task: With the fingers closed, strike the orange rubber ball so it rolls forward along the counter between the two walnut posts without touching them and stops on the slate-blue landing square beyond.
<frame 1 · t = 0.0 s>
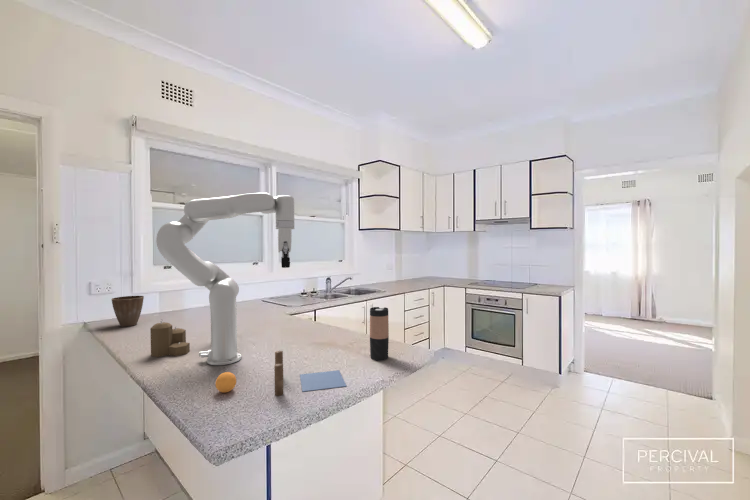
hand: (285, 266, 139), 37 cm above the countertop, fingers open, 9 cm apart
post 2: (279, 377, 116), on the countertop
candle: (169, 353, 143), on the countertop
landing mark: (322, 380, 113), on the countertop
ball: (226, 382, 105), on the countertop
post 1: (279, 394, 103), on the countertop
travel mug: (379, 358, 135), on the countertop
plant pot: (128, 325, 191), on the countertop
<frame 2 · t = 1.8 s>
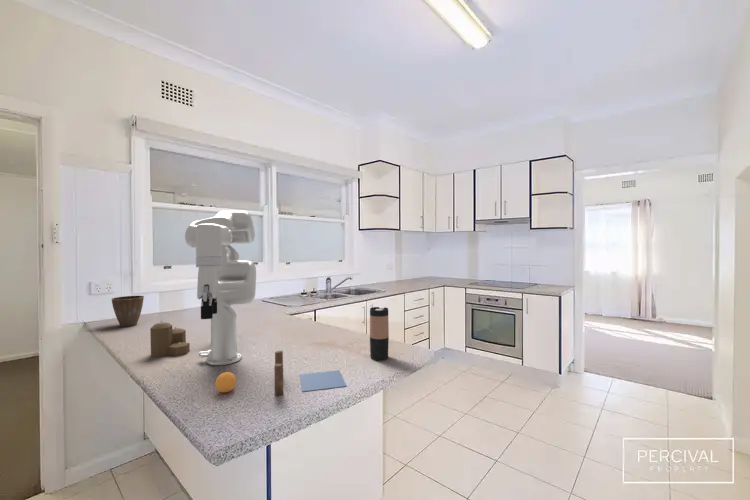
hand: (209, 316, 107), 23 cm above the countertop, fingers open, 9 cm apart
nothing on the countertop moved.
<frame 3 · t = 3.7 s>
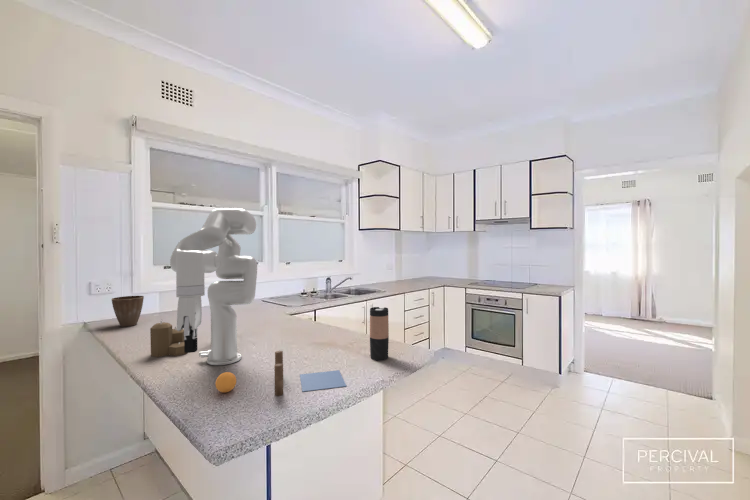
hand: (191, 351, 101), 14 cm above the countertop, fingers closed
nothing on the countertop moved.
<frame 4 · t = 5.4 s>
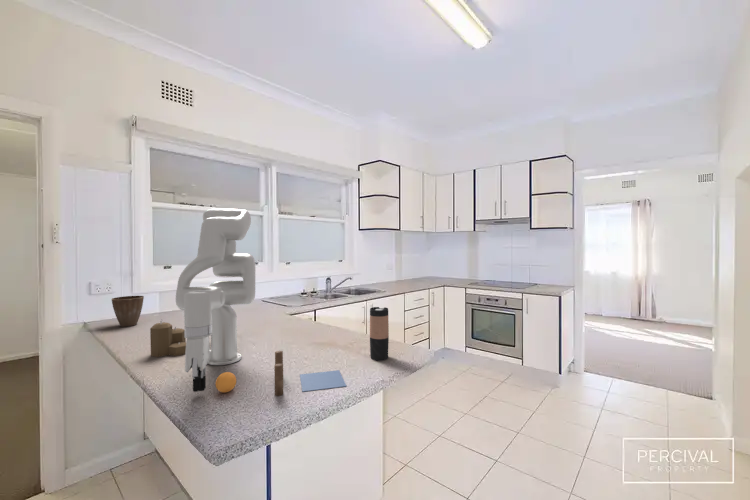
hand: (199, 389, 103), 1 cm above the countertop, fingers closed
nothing on the countertop moved.
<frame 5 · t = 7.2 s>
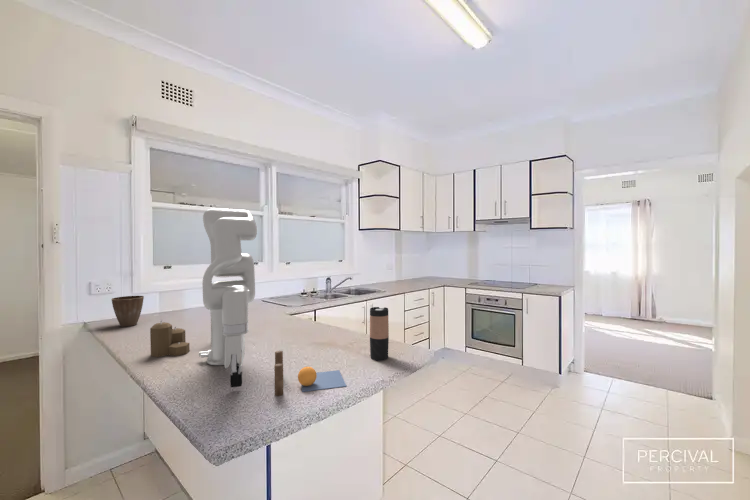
hand: (236, 385, 106), 2 cm above the countertop, fingers closed
ball: (307, 376, 109), on the countertop
everything else where it was.
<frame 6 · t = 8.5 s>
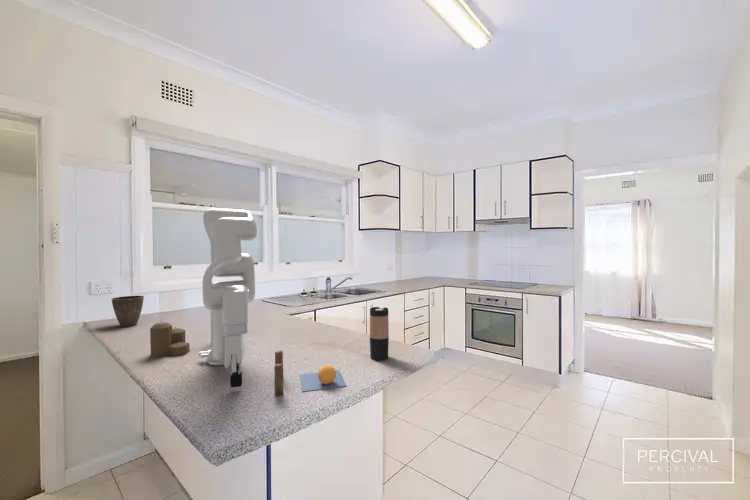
hand: (236, 385, 106), 2 cm above the countertop, fingers closed
ball: (326, 374, 110), on the countertop
everything else where it was.
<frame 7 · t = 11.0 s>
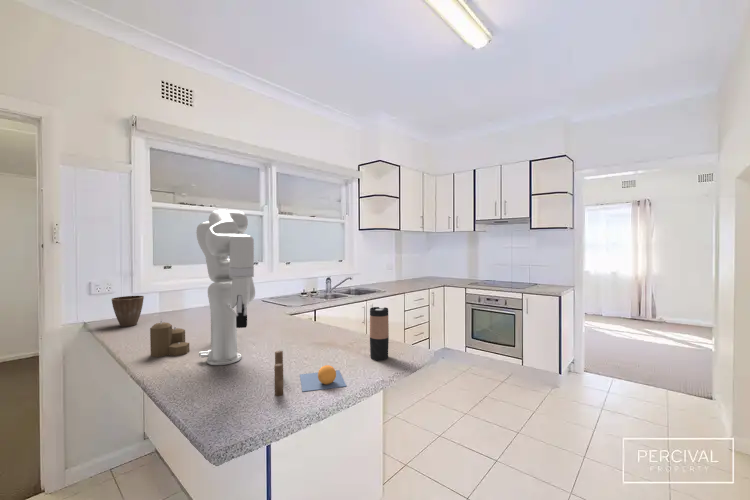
hand: (241, 326, 112), 19 cm above the countertop, fingers closed
nothing on the countertop moved.
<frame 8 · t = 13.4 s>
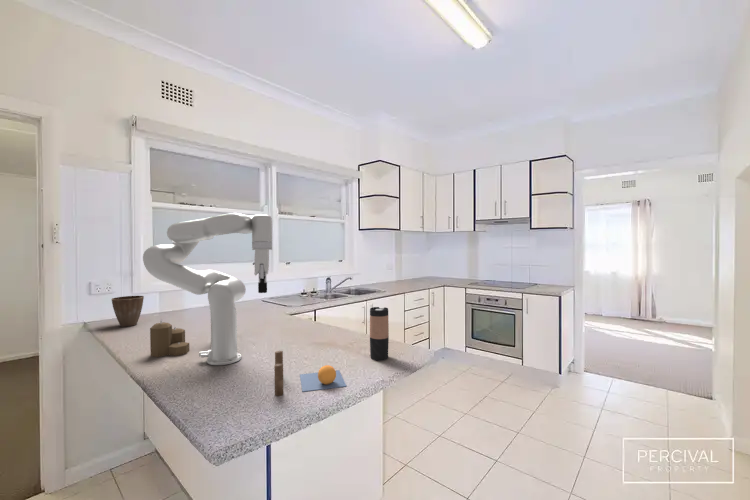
hand: (262, 292, 132), 27 cm above the countertop, fingers closed
nothing on the countertop moved.
at the end: ball 3.4 cm from the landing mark (horizontally); ball never touched post 2; ball never touched post 1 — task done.
